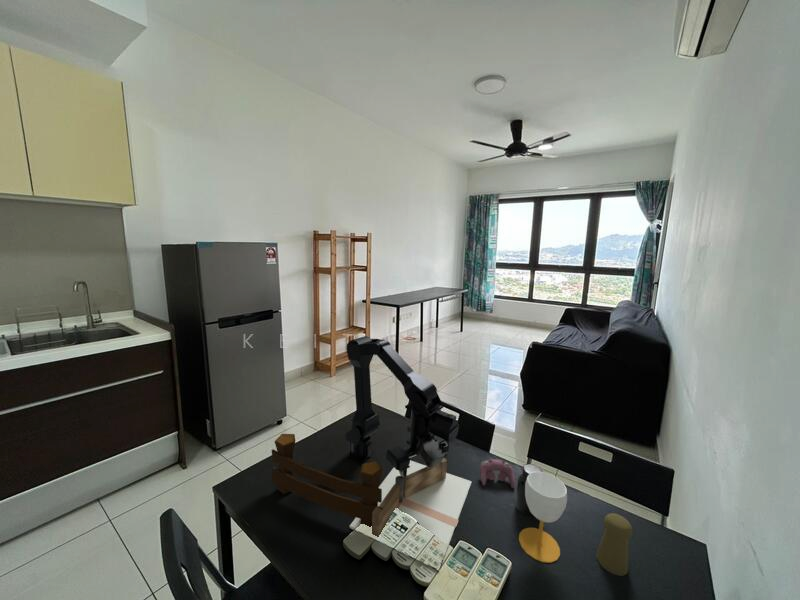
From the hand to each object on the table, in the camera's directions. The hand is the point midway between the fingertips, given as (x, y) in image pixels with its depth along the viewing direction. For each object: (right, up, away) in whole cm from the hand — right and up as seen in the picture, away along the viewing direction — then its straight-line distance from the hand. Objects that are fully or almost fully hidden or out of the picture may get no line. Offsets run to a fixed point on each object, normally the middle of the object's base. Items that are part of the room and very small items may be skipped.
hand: (416, 475), depth 93 cm
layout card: (0, -4, -6) cm, 8 cm away
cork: (+43, -8, -21) cm, 48 cm away
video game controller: (+24, -4, +3) cm, 25 cm away
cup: (+28, -7, -17) cm, 34 cm away
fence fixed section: (-8, -4, -11) cm, 14 cm away
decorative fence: (-24, -3, -8) cm, 26 cm away
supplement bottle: (+30, -6, -7) cm, 31 cm away
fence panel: (+2, -3, -1) cm, 3 cm away
